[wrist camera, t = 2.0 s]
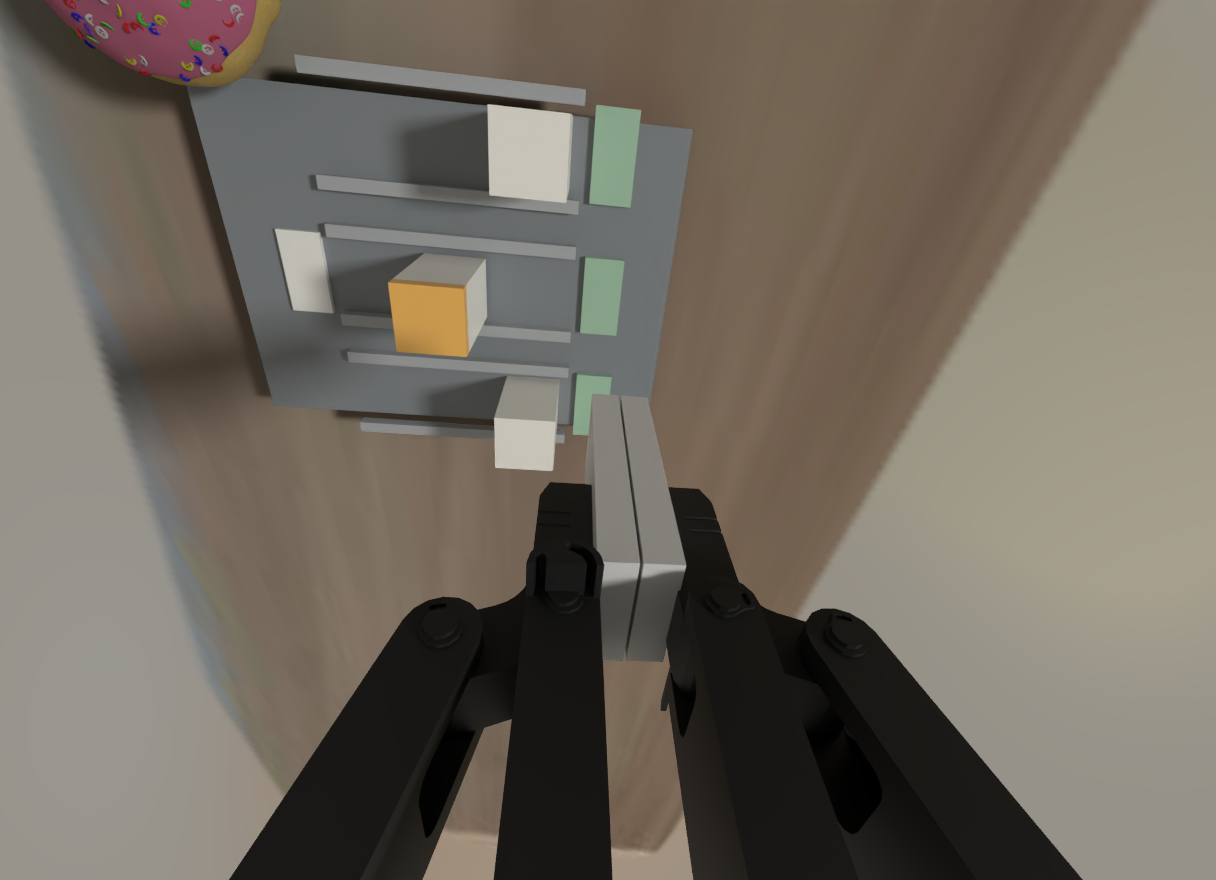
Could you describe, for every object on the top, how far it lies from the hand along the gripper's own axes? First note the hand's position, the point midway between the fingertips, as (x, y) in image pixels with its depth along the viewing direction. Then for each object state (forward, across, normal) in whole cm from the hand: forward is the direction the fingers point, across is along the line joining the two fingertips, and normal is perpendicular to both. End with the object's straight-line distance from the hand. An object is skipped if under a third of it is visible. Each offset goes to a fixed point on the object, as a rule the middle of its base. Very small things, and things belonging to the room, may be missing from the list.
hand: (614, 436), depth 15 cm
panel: (+16, -8, 0) cm, 18 cm away
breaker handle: (+14, -7, 0) cm, 16 cm away
